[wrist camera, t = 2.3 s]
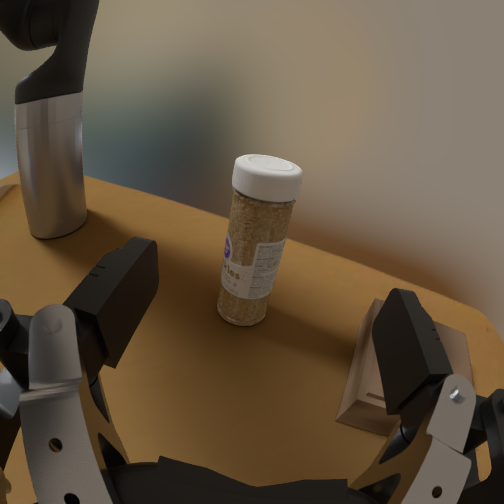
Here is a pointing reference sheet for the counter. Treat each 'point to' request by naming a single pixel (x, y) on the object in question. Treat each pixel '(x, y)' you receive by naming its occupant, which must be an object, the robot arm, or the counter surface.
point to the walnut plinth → (369, 381)
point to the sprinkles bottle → (256, 235)
